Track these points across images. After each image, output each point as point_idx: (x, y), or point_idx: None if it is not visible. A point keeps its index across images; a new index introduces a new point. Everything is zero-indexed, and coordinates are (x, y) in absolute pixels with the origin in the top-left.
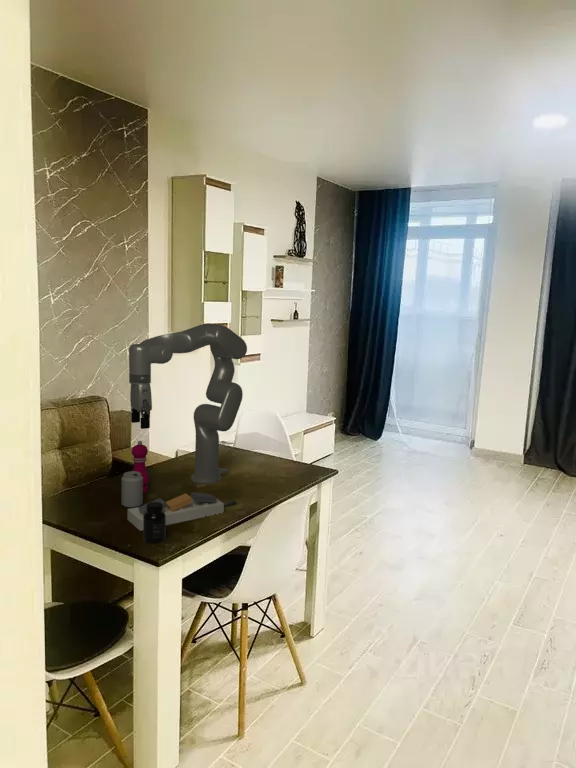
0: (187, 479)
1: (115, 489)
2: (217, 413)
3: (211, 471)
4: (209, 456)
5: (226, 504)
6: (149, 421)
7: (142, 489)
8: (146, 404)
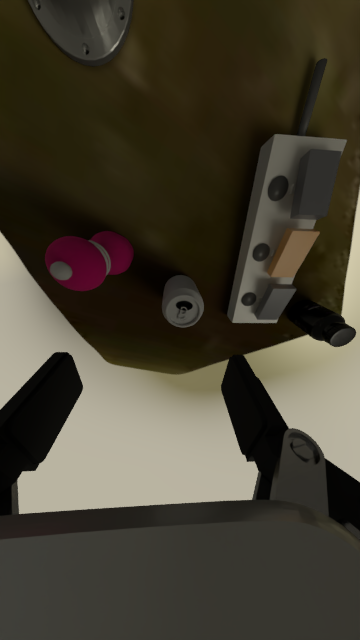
0: (62, 70)
1: None
2: None
3: None
4: None
5: (312, 108)
6: (261, 389)
7: (193, 285)
8: None
